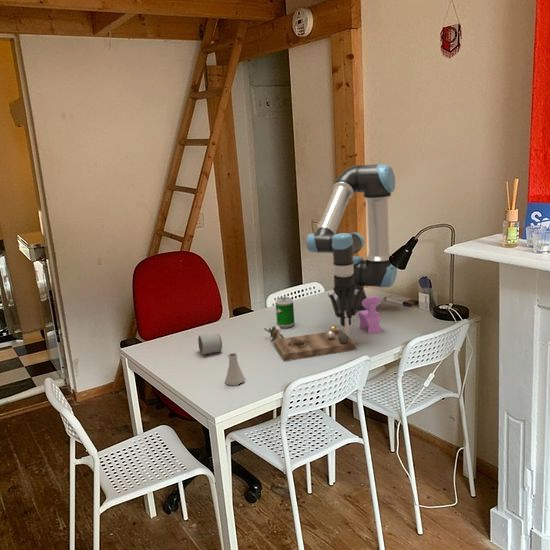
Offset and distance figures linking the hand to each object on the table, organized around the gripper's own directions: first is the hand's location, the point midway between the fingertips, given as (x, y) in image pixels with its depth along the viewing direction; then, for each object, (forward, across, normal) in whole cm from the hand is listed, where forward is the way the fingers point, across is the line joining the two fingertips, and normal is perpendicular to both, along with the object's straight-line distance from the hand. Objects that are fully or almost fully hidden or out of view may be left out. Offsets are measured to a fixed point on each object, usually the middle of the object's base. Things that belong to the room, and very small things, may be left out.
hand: (346, 333), depth 224 cm
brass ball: (0, +3, -6) cm, 7 cm away
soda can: (+4, +17, -29) cm, 34 cm away
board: (+4, +13, 0) cm, 14 cm away
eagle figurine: (+4, +26, -14) cm, 29 cm away
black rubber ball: (0, +3, +6) cm, 7 cm away
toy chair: (+4, -14, -10) cm, 18 cm away
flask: (+4, +47, +19) cm, 51 cm away
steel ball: (0, +6, 0) cm, 6 cm away
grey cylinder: (+4, +52, -13) cm, 54 cm away
